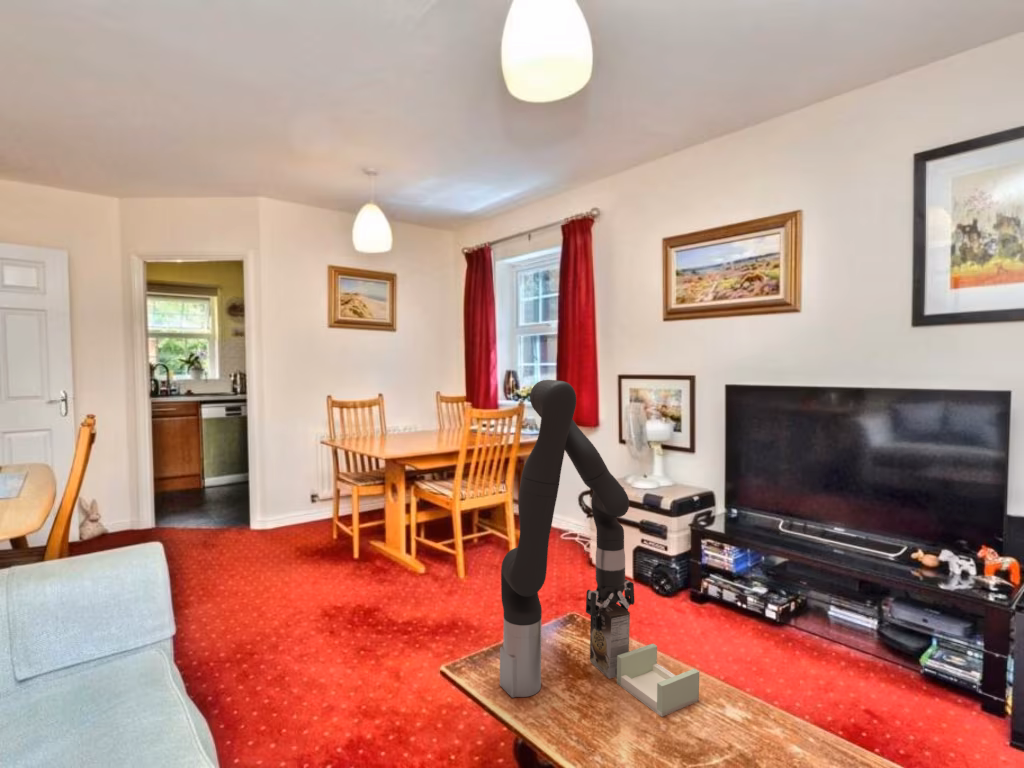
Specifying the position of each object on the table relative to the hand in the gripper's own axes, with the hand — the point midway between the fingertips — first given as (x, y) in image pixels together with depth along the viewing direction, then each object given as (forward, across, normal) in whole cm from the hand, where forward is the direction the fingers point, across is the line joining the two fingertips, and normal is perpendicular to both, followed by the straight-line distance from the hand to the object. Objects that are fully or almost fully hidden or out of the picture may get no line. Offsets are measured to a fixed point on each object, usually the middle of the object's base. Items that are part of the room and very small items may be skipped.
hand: (610, 625), depth 143 cm
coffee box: (+11, 0, 0) cm, 11 cm away
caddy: (+11, +2, -14) cm, 18 cm away
